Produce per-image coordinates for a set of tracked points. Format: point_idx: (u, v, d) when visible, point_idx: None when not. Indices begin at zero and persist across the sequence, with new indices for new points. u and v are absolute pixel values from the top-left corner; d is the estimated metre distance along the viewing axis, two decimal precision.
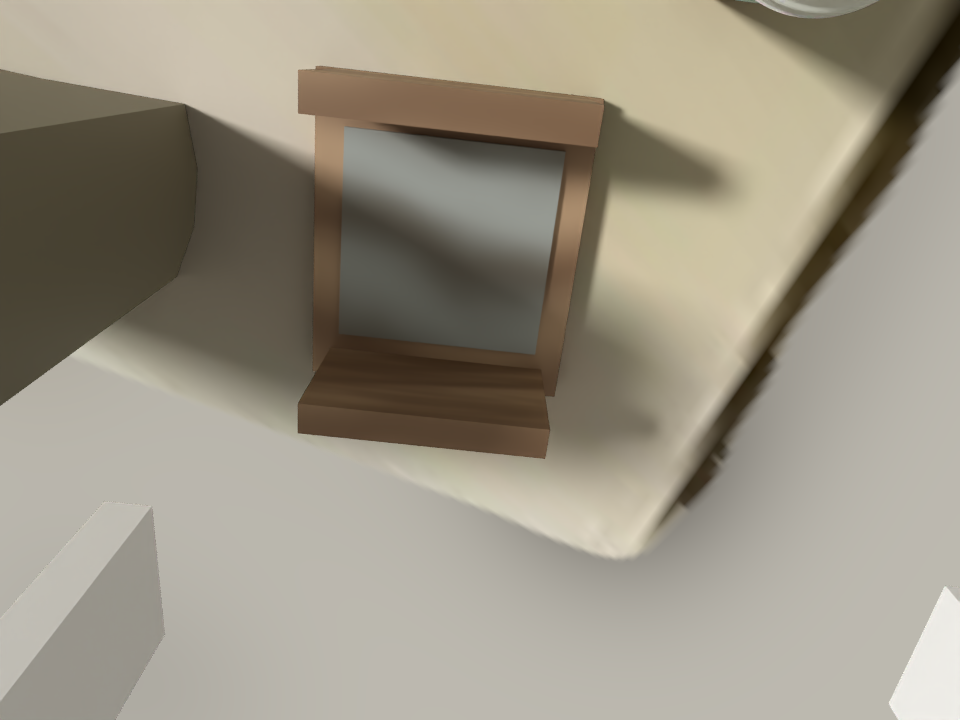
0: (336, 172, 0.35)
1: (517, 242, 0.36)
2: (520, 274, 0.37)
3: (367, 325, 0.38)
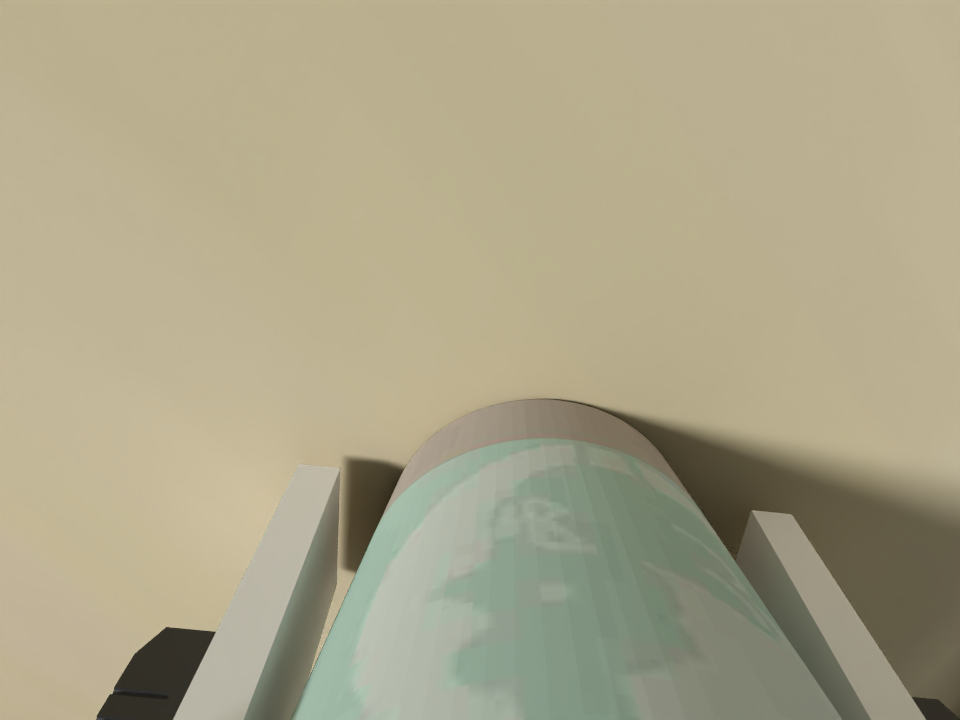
0: None
1: None
2: None
3: None
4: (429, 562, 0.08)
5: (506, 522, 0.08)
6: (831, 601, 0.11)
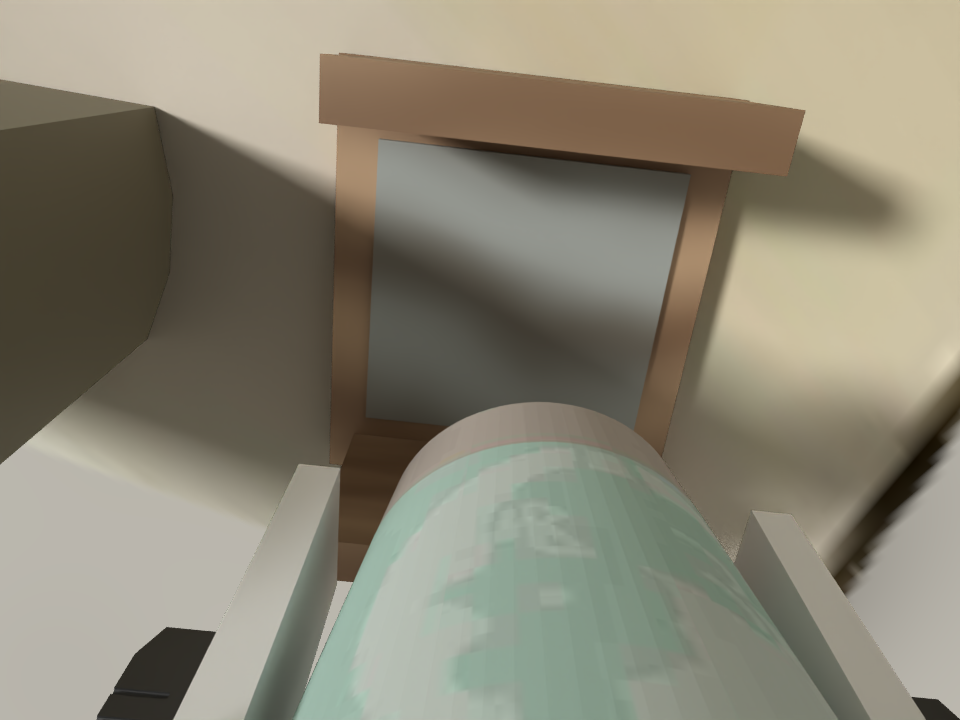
0: (366, 201, 0.25)
1: (615, 298, 0.26)
2: (616, 341, 0.27)
3: (404, 407, 0.28)
4: (429, 566, 0.08)
5: (505, 526, 0.09)
6: (831, 601, 0.11)
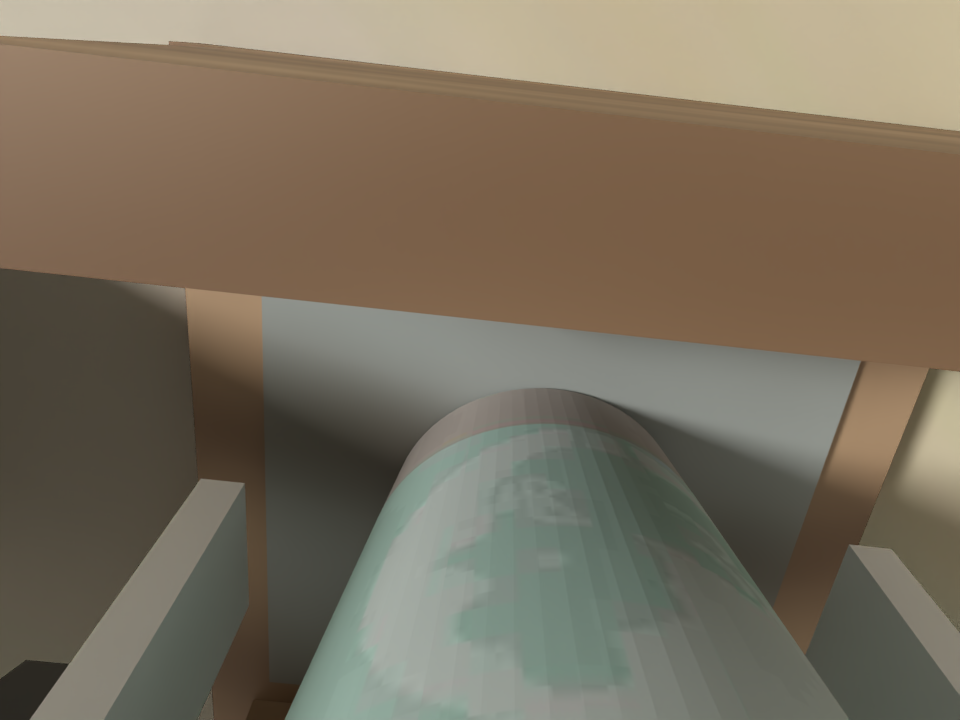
0: (247, 330, 0.13)
1: (720, 502, 0.14)
2: None
3: None
4: (433, 535, 0.09)
5: (507, 499, 0.09)
6: (954, 648, 0.10)
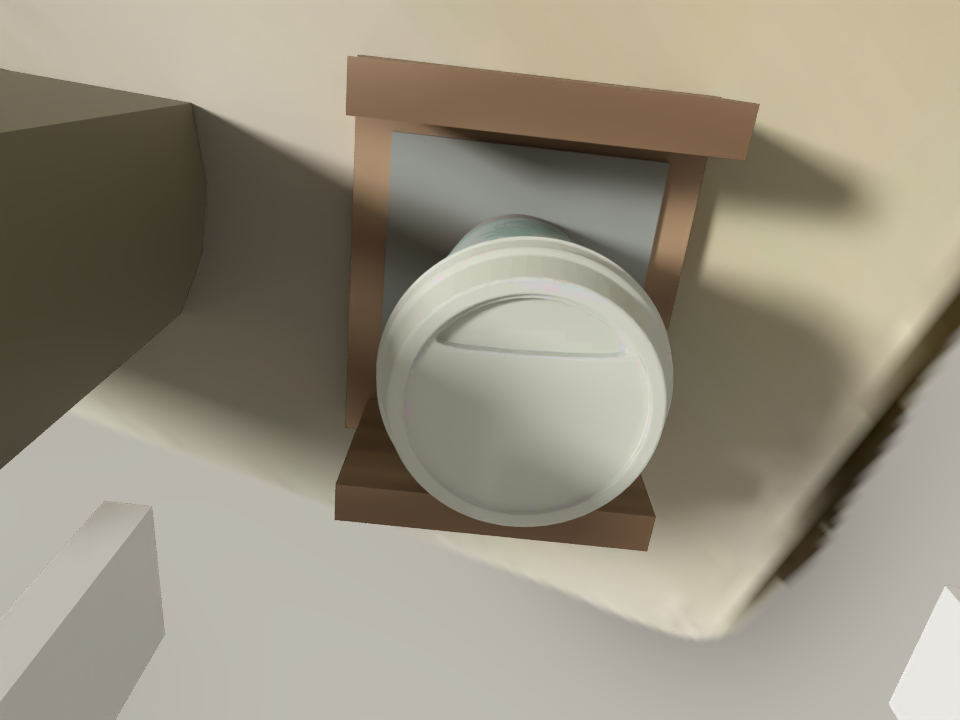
0: (381, 188, 0.28)
1: None
2: None
3: None
4: (473, 236, 0.24)
5: (500, 226, 0.24)
6: None
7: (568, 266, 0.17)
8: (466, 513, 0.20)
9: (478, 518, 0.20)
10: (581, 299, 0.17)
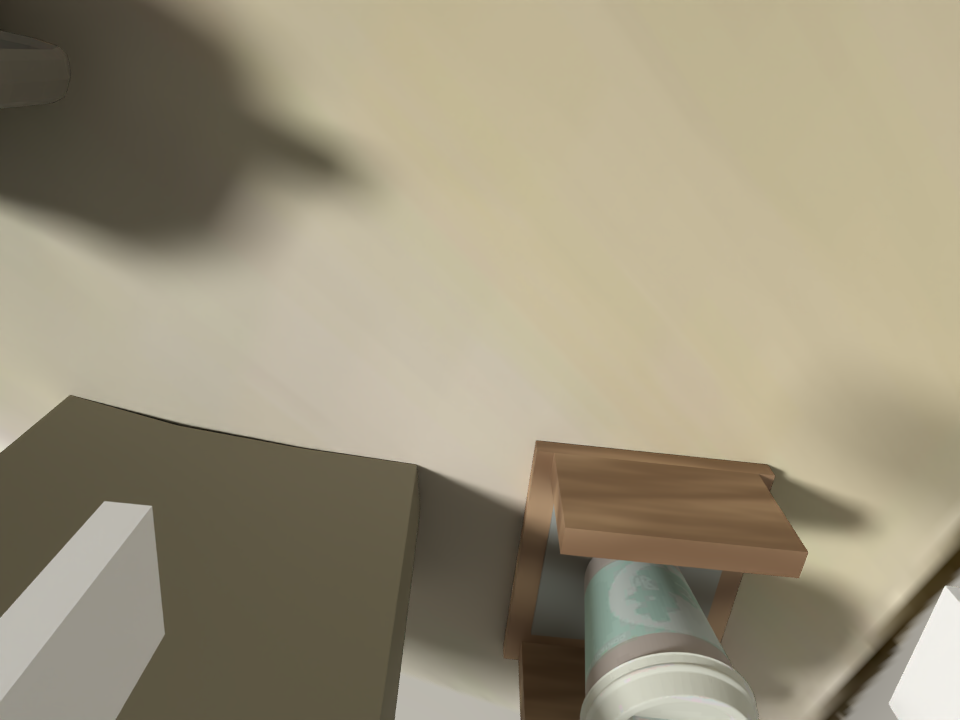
0: (544, 521, 0.42)
1: (692, 573, 0.43)
2: None
3: (556, 629, 0.45)
4: (621, 591, 0.37)
5: (637, 582, 0.38)
6: None
7: (704, 680, 0.31)
8: None
9: None
10: (713, 705, 0.31)
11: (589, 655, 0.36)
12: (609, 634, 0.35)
